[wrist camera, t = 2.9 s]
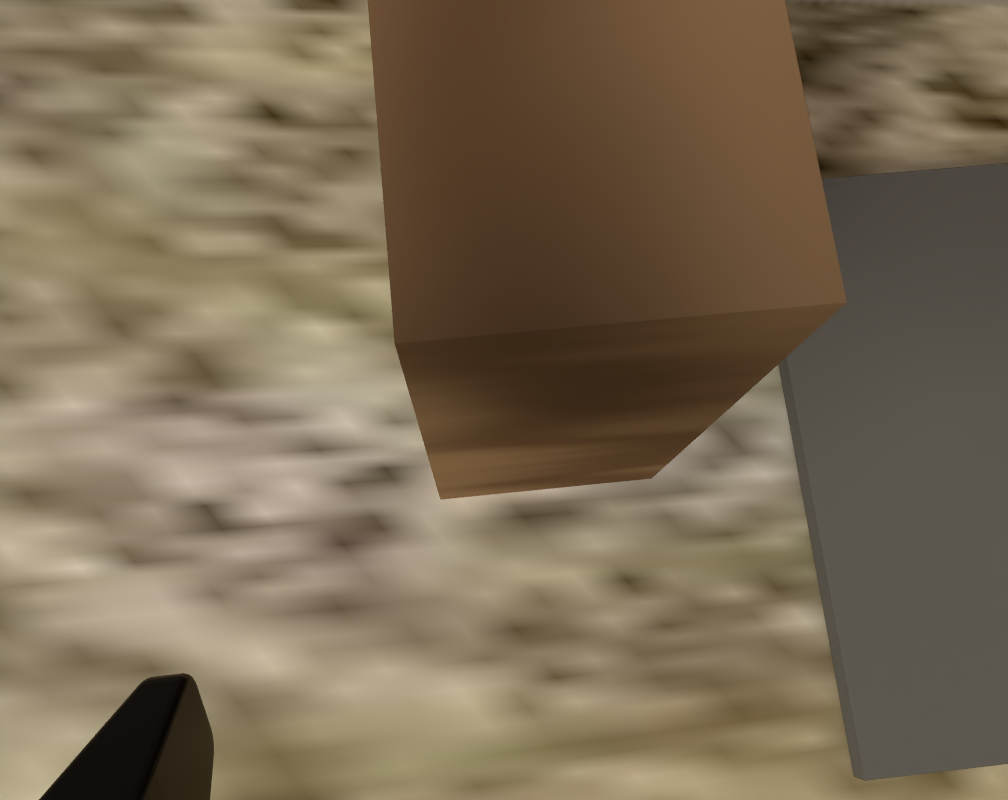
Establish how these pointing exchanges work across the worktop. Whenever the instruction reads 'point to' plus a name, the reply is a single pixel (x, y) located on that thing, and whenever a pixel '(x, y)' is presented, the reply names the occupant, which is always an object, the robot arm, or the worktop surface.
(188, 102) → the worktop surface
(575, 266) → the walnut block
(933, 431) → the charcoal mat
